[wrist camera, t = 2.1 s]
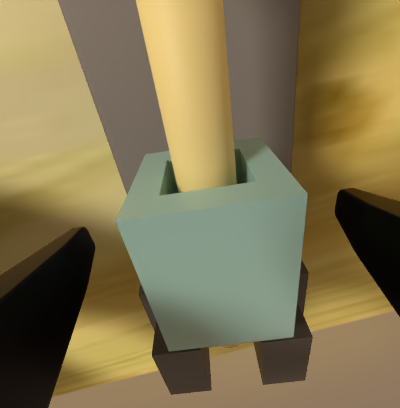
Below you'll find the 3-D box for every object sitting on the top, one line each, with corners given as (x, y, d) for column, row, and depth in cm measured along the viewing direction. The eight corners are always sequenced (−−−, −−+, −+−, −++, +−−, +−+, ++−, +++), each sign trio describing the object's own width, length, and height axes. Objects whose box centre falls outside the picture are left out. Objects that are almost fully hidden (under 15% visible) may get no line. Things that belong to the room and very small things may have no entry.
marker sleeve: (261, 250, 11) (293, 337, 7) (175, 261, 11) (169, 351, 7) (259, 136, 8) (307, 193, 5) (145, 154, 8) (115, 221, 5)
